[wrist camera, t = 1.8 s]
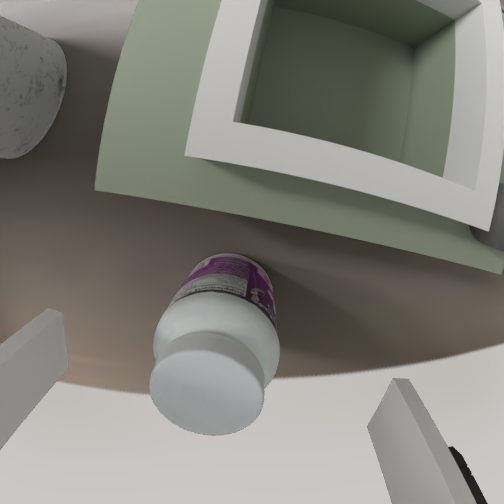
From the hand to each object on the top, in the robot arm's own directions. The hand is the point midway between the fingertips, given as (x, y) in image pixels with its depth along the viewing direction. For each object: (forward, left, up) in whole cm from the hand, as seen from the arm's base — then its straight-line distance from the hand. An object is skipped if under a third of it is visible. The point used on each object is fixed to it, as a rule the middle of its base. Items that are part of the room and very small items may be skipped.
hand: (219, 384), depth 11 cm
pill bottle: (0, 0, -9) cm, 9 cm away
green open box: (+3, +12, -9) cm, 15 cm away
